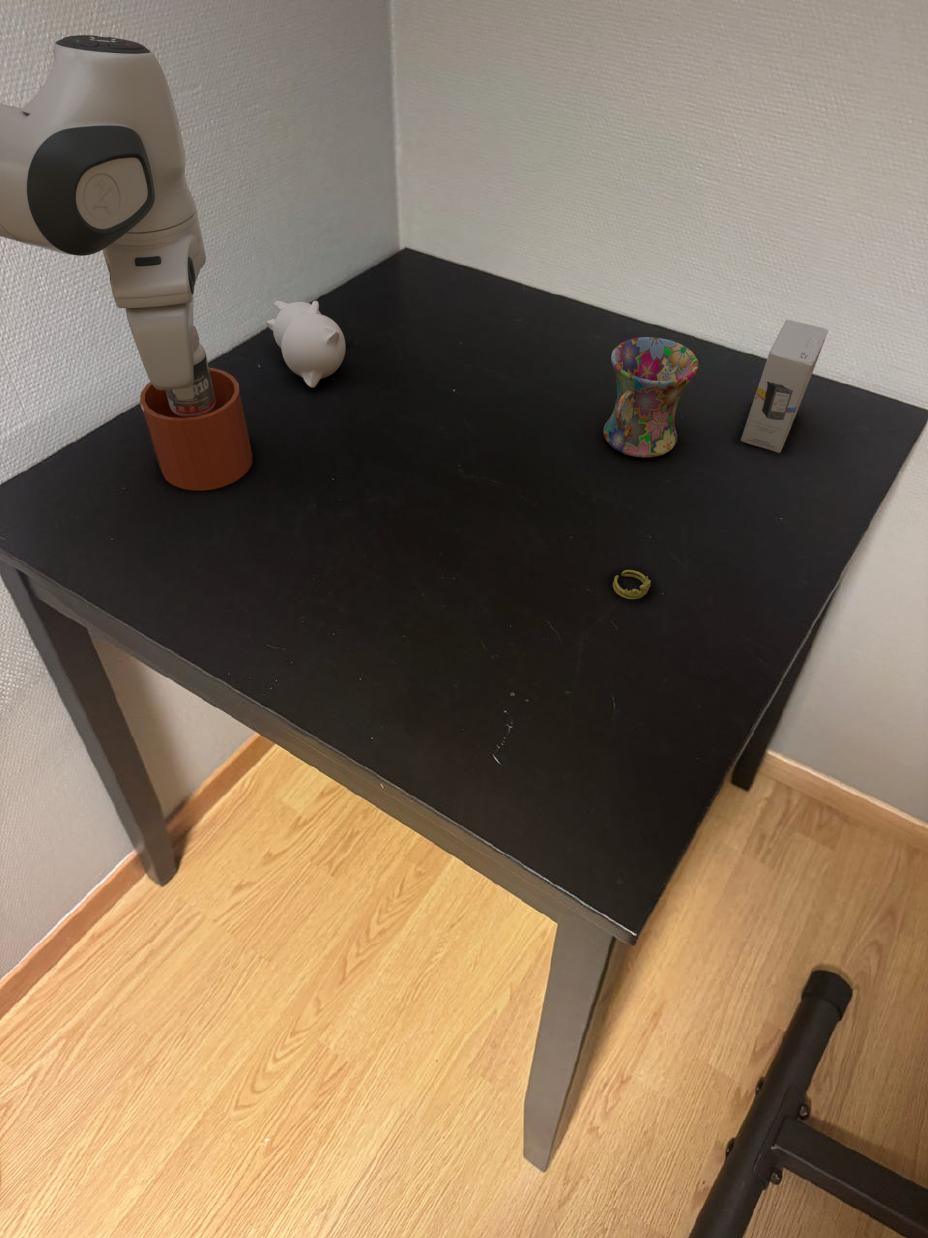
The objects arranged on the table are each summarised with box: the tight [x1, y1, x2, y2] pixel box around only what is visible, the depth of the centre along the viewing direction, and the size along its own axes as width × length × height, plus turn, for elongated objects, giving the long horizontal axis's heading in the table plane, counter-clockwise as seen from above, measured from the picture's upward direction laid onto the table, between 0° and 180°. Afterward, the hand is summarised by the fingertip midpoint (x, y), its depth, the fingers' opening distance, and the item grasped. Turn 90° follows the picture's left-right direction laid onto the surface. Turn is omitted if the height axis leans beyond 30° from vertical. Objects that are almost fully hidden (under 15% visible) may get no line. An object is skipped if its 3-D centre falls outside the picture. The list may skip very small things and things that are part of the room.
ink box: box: [740, 319, 829, 454], centre depth 98 cm, size 9×5×12 cm, turn 153°
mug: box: [602, 336, 699, 458], centre depth 96 cm, size 12×9×11 cm
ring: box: [612, 569, 652, 600], centre depth 83 cm, size 3×3×3 cm
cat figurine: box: [266, 300, 346, 388], centre depth 108 cm, size 9×11×12 cm
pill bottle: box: [166, 325, 215, 417], centre depth 88 cm, size 5×5×8 cm
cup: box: [139, 367, 254, 491], centre depth 93 cm, size 10×10×9 cm
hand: (186, 379), depth 88 cm, fingers closed on pill bottle, 5 cm apart
